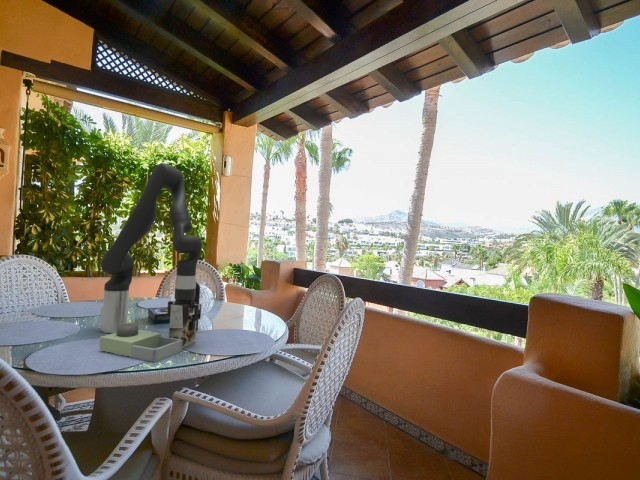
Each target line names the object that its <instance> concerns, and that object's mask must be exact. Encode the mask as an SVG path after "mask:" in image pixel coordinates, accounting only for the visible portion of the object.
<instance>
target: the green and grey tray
mask: <svg viewBox="0 0 640 480" xmlns="http://www.w3.org/2000/svg"><path fill="white" fill-rule="evenodd" d="M139 326H140V325H139V324H135V323H127V324H122V325H119V326H117V333H108V334H106V335H102V336H100V337H99V351H100V350H101V351H100V352H102V351H106V352H105V353H107V352H111V353H116V354H120V355H119V356H121V355H124V356H123V357H126V356H130V357H129V358H131V357H133V358H132V359H136V358H138V359H137V360H143V361H146V362H151V363H156V362H159V361H161V360H164V359H166V358H168V357H169V358H170V357H171V356H174V355H175V354H176V355H177V354H178V353H180V352H184V348H183V340H181V339H175V338H170V337H169V336H163V335H162V333H161V332H156V331H149V330H144V329H139ZM111 353H110V354H111ZM116 354H115V355H116Z"/></svg>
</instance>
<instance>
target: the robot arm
mask: <svg viewBox="0 0 640 480" xmlns="http://www.w3.org/2000/svg"><path fill="white" fill-rule="evenodd" d="M185 186H186V185H185V177H184V175H183V172H182V171H180V169H177V168H176V167H174V166H172V165H169V164H168V163H164V162H161V163H158V164H157V165H156V166H155V167H154V169H153V170H152V172H151V174H150V175H149V178H148V180H147V183H146V185H145V186H144V189H143V191H142V194H141V195H140V197H139V199H138V200H137V203H136V204H135V207H134V208H133V210H132V211H131V213H130V214H129V216H128V218H127V220H126V222H125V223H124V225H123V226H122V228H121V230H120V232H119V233H118V235H117V236H116V239H115V240H114V242H112V244H111V245H110V247H109V248H108V249H107V251H106V252H105V254H104V255H103V257H102V259H101V262H100V266H101V267H100V268H101V270H102V272H103V273H105V274H107V275H111V276H110V277H109V279H108V281H106V282H105V284H104V285H103V287H104V288H103V305H102V306H103V307H101V310H100V326H99V328H100V329H99V330H100V331H101V332H102V333H107V334H113V333H117V326H119V325H122V324H128V315H129V296H130V285H132V280H133V272H134V271H133V270H134V260H133V259H134V258H133V256H132V255H131V254H130V253H129V252H130V251H131V249H132V248H133V247H134V246H135V245H136V244H137V243H138V242H140V241H141V240H142V239H143V238H144V237H145V236H146V235H147V234H148V232H149V231H150V230H151V228H152V227H153V224H154V223H155V220H156V219H157V199H158V196H159V194H160V192H161V190H162V188H164V189H166V190H169V191H170V194H171V196H172V203H171V205H170V209H169V215H170V221H171V225H172V227H173V230H172V233H173V236H172V237H173V238H172V247H173V249H174V251H175V252H176V253H177V254H187V256H186V258H182V259H180V260H178V261H177V262H176V263H177V264H176V276H175V280H174V281H175V282H174V283H175V285H174V300H169V301H168V302H167V317H168V318H170V314H171V304H175V303H182V304H189V305H190V310H191V309H193V308H194V310H195V311H194V310H193V313H189V320H190V322H189V331H193V330H194V329H195V321H196V320H198V321H200V319H201V316H202V304H201V303H199V304H198V305H197V304H195V303H194V299H195V292H196V282H197V278H196V277H197V275H196V273H197V265H198V264H197V263H198V261H199V257H200V255H201V252H202V249H203V241H202V239H201V237H200V236H198V235H193V234H192V235H190V234H187V233H189V232H190V231H191V230H193V223H192V220H191V216H190V213H189V210H188V204H187V198H186V197H187V196H186V189H185V188H186V187H185ZM185 234H186V235H185ZM191 315H192V316H191Z"/></svg>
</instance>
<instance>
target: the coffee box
mask: <svg viewBox="0 0 640 480" xmlns="http://www.w3.org/2000/svg"><path fill="white" fill-rule="evenodd" d="M194 303H195V304H197V303H198V302H194ZM193 310H194V308H193V309H191V310H190V305H189V304H182V303H175V304H171V314H170V317H169V333H168V337H170V338H175V339H181V340H183V349H185V348H186V347H189V346H191V345H193V344H195V343H196V332H197V331H196V321H195V329H194V330H193V331H189V322H190V320H189V313H193ZM194 311H195V310H194ZM191 316H192V315H191ZM194 342H195V343H194Z"/></svg>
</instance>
